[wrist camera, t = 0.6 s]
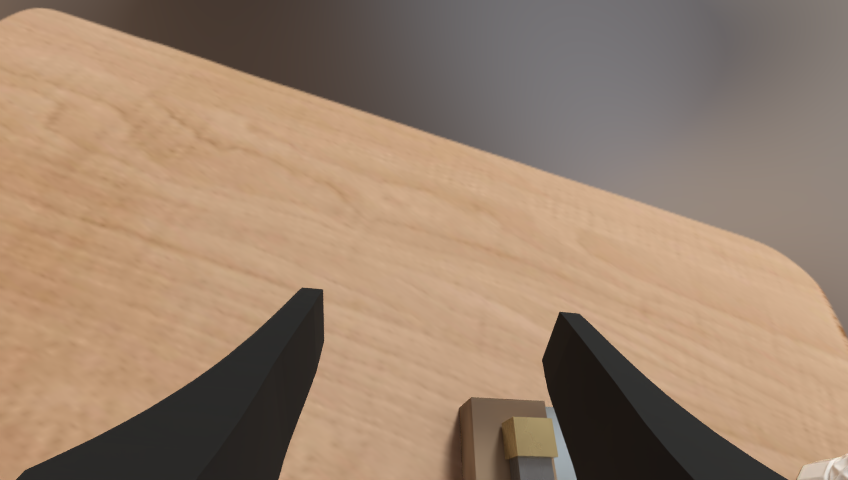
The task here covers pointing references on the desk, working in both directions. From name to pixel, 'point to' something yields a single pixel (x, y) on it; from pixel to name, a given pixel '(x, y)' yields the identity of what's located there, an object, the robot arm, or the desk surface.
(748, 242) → the desk surface
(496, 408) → the door board
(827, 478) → the white cup
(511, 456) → the latch bar
